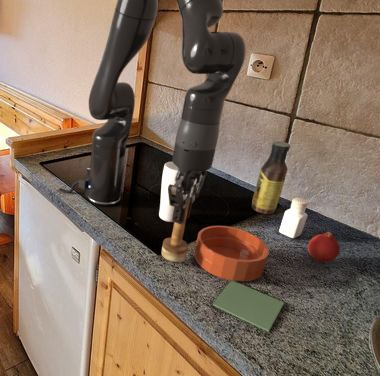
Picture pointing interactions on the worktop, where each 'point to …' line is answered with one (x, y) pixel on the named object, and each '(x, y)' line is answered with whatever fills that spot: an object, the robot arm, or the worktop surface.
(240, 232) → the bowl
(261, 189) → the sauce bottle
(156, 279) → the worktop surface
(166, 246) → the dish brush
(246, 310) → the mat
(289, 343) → the worktop surface
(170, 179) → the drinking glass
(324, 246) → the onion
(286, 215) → the pepper shaker
